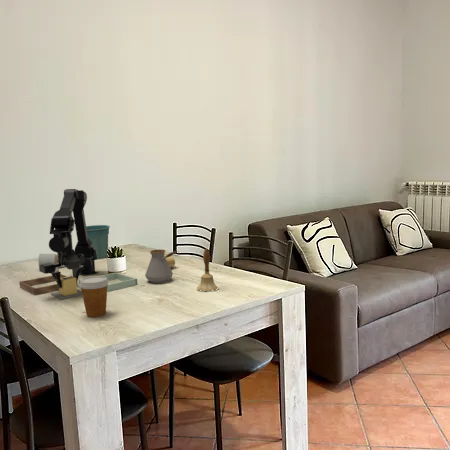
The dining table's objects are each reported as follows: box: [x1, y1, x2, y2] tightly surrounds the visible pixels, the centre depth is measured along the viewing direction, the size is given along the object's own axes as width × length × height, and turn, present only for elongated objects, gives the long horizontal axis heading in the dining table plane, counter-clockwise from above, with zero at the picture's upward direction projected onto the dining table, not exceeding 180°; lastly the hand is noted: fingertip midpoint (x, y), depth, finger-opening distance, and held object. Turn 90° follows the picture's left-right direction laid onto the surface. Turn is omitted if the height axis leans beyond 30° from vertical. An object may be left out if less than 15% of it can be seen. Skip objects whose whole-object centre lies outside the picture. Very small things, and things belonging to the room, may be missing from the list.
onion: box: [164, 253, 176, 269], centre depth 228 cm, size 8×8×7 cm
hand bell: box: [196, 248, 219, 292], centre depth 190 cm, size 8×8×16 cm
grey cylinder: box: [38, 253, 58, 270], centre depth 237 cm, size 11×8×8 cm
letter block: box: [58, 275, 78, 296], centre depth 190 cm, size 5×5×6 cm
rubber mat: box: [50, 288, 83, 300], centre depth 190 cm, size 10×10×1 cm
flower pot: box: [86, 224, 111, 260], centre depth 259 cm, size 16×16×16 cm
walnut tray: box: [19, 273, 79, 296], centre depth 202 cm, size 18×17×2 cm
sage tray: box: [78, 272, 138, 293], centre depth 201 cm, size 18×17×2 cm
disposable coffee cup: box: [78, 275, 110, 318], centre depth 163 cm, size 10×10×12 cm
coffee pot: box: [144, 249, 180, 284], centre depth 201 cm, size 21×12×15 cm, turn 37°
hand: (67, 286), depth 190 cm, fingers open, 6 cm apart
